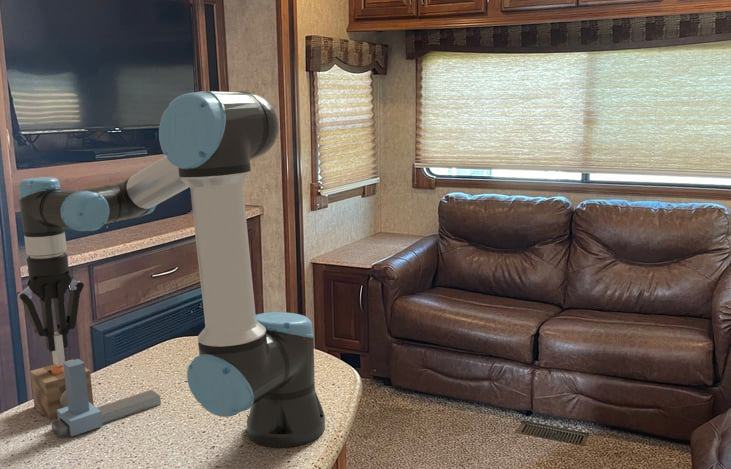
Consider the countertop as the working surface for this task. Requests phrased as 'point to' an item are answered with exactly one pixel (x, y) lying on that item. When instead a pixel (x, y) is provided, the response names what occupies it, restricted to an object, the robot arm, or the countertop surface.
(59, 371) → the orange rounded cylinder
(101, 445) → the countertop surface
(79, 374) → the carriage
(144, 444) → the countertop surface
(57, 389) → the wooden box
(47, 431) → the countertop surface
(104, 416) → the rail
